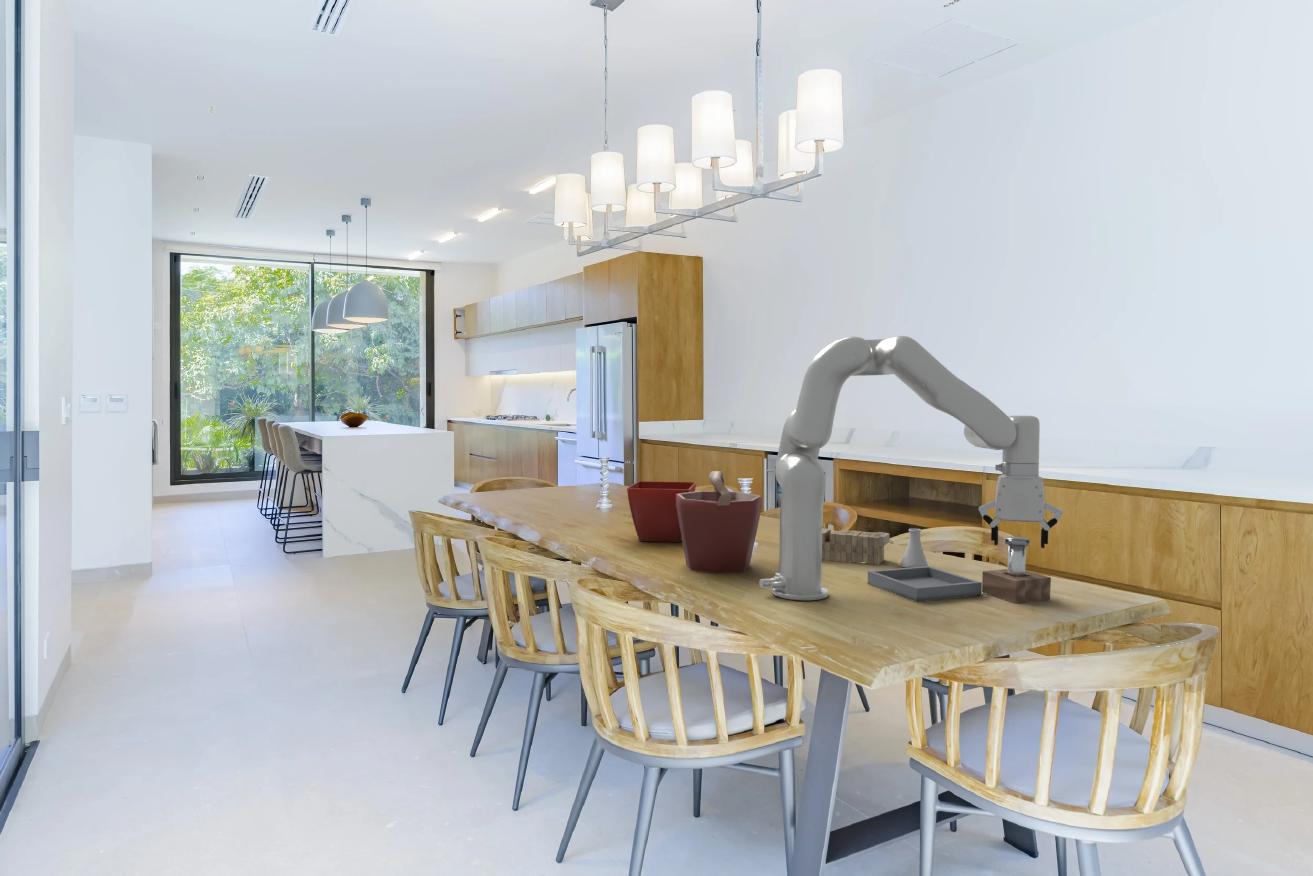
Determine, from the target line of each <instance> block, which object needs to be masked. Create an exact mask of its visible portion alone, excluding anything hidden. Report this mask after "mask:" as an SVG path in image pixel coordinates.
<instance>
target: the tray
mask: <svg viewBox="0 0 1313 876" xmlns="http://www.w3.org/2000/svg"><path fill="white" fill-rule="evenodd" d="M868 583H870V584H871V586H873V585H874V587H876V586H877V587H876V588H878V587H880V588H879V589H881V588H882V589H881V590H884V589H885V591H886V590H888V591H887V592H889V591H891V592H893V593H892V594H894V593H896V594H895V595H897V596H899V595H900V596H899V597H902V596H903V597H902V598H905V599H907V598H908V599H907V600H910V599H911V600H910V601H912V600H914V601H913V602H915V601H920V602H927V601H926V600H930V601H937V600H936V599H940V600H948V599H947V598H950V599H955V598H956V597H960V598H966V597H965V596H970V597H977V595H980V596H982V581H979V580H975V579H972V578H968V577H966V576H963V575H960V574H959V575H958V574H956V573H953V572H949V571H947V570H942V569H940V568H936V567H934V566H930V565H928V566H924V567H912V568H904V567H902V568H891V569H877V570H868V571H867V584H868ZM870 584H869V585H870ZM891 592H890V593H891ZM956 599H957V598H956Z"/></svg>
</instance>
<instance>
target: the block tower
mask: <svg viewBox="0 0 1313 876" xmlns="http://www.w3.org/2000/svg"><path fill="white" fill-rule="evenodd" d="M888 543H890V532H889V533H888V532H885V531H884V532H883V531H878V532H872V531H871V532H870V531H869V532H868V531H862V530H861V531H860V530H849V529H848V530H847V529H842V530H840V531H839V530H834V531H832V530H831V528H822V559H823V560H822V561H831V560H835V561H834V562H841V561H850V562H849V563H852V562H865V563H871V564H870V565H874V564H880V565H881V563H883V561H884V560H885V546H887V545H888ZM836 560H837V561H836ZM880 562H881V563H880Z"/></svg>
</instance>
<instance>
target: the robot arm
mask: <svg viewBox="0 0 1313 876" xmlns="http://www.w3.org/2000/svg"><path fill="white" fill-rule="evenodd" d="M885 375H886V376H887V375H894V376H896V377H897V379H899V380H900V381H901V382H903V384H905V385H906V386H907V387H909V389H910V390H912V392H914V393H915V395H917V397H919V398H920V399H921V400H922V401H923V402H925V403H926V404H927V405H928V406H930V407H931V408H934V409H935V410H938V411H941V412H943V413H946V414H947V415H950V416H951V417H953V418H954V419H956V420H957V421H959V422H961V423H962V424H963V425H964V428H963V435H964V438H965V440H966V441H967V442H968V443H970V445H972V446H974V447H977V448H981V449H986V450H987V449H989V450H994V451H1001V450H1002V454H1001V455H1002V459H1001V460H1002V463H1000V464H995V471H999V472H1000V473H1001V474H1000V475H999V476H998V477H997V483H996V489H995V499H994V500H992V501H989V502H987V503H985V504H982V505H980V506H978V511H979V514H980V515H981V517H982V519H983V520H984V521H985V522H986V523H987V525H989V527H990V531H991V532H990V538H991V539H990V540H991V541H992V542H993V541H994V542H993V543H994V545H993V546H998V544H999V526H998V525H999V524H1000V523H1001V521H1005V522H1007V521H1008V522H1022V523H1038V524H1039V525H1040V526H1041V529H1040V548H1041V549H1045V548H1046V547H1045V545H1048V544H1049V531H1050V529H1051V528H1053V527H1054V526H1055V525H1056V524H1057V523H1058V522H1059V521H1060V519H1061V517H1062V515H1063V513H1064V512H1063V511H1062V509H1059V508H1058V507H1056V506H1054V505H1051V504H1049V503H1048V502H1047V501H1046V500H1045V485H1044V478H1043V477H1042V476H1040V475H1039V473H1040V470H1039V469H1040V429H1041V428H1040V427H1041V425H1040V420H1039V418H1038V417H1037V416H1035V415H1007V414H1006V413H1005V412H1004V411H1003V410H1001V408H1000V407H998V405H996V404H995V403H993V401H991V400H990V399H989V398H987V396H985V395H984V394H982V393H981V392H979V391H978V390H977V389H975V388H973V387H972V386H971V385H969V384H968V383H966V382H965V381H964V380H962V379H961V378H959V377H958V376H957V375H955V374H953V373H952V372H951V371H950V370H949V369H948V368H947V367H946V366H945V365H944V364H942V363H941V362H940V361H939V360H938V359H937V358H936V357H934V356H933V355H932V353H930V352H929V351H928V350H927V349H926V348H925V347H924V346H922V344H920V343H919V342H918V341H917V340H915V339H913V338H912V337H910V336H906V335H899V336H894V337H890V338H880V339H879V338H878V339H865V338H862V337H859V336H848V337H844V338H842V339H838V340H835V341H834V342H832V343H830V344H828V345H827V346H826V347H824V348H823V349H822V350H821V351H820V352H819V353H817V354H816V356H815V357H814V358H813V360H812V361H811V363H810V364H809V365H808V367H807V369H806V372H805V373H804V377H803V380H802V383H801V389H800V392H799V396H798V398H797V403H796V408H795V410H792V412H790V414H788V416H787V418H786V419H785V422H784V425H783V428H782V432H781V435H780V436H781V437H780V442H779V446H778V453H777V458H776V463H775V468H774V469H775V472H774V473H775V479H776V481H777V483H778V484H779V486H780V487H781V494H780V495H781V497H780V507H779V508H780V509H779V556H778V557H779V559H778V560H779V563H778V565H779V567H778V572H774V576H772V577H771V578H760V579H759V582H758V584H759V588H761V589H762V588H770V589H771V593H772V594H773V595H774V596H775V597H779V598H781V599H785V600H792V601H819V600H823V599H825V598H827V597H828V596H829V590H828V589H827V588H826V587H825V586H823V585H822V572H823V570H822V566H823V564H822V563H823V562H822V561H823V560H822V529H824V528H823V527H824V525H823V524H824V523H823V522H824V521H823V518H824V515H823V514H824V504H825V503H824V502H825V494H826V484H827V481H826V480H827V479H826V473H825V471H824V468H823V466H822V465H821V463H820V462H819V453H820V449H821V448H824V447H825V446H826V445H827V444H828V443H829V441H830V440H831V436H832V432H833V426H834V420H835V419H834V418H835V414H836V409H837V404H838V400H839V397H840V394H841V390H842V388H843V386H844V384H845V383H846V381H847V380H848V379H849V378H850V377H853V376H854V377H856V376H857V377H858V376H859V377H860V376H861V377H862V376H885ZM992 508H995V509H994V513H995V514H994V515H995V516H994V518H992V517H991V516H990V515H989V514H988V512H987V510H989V509H992ZM1046 511H1049V512H1051V513H1053V516H1052V517H1051V519H1049V520H1048V521H1046V520H1045V516H1046Z"/></svg>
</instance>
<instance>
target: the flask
mask: <svg viewBox="0 0 1313 876" xmlns="http://www.w3.org/2000/svg"><path fill="white" fill-rule="evenodd" d="M908 532H909V539H908V543H907V546H906V548H905V551H904V554H903V557H902V559H901V561H900V564H899V565H900V567H902V568H912V567H924V566H929V565H928V561H927V558H926V555H925V552H924V549H923V546H922V540H921V533H922V529H920V528H909V529H908Z"/></svg>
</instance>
